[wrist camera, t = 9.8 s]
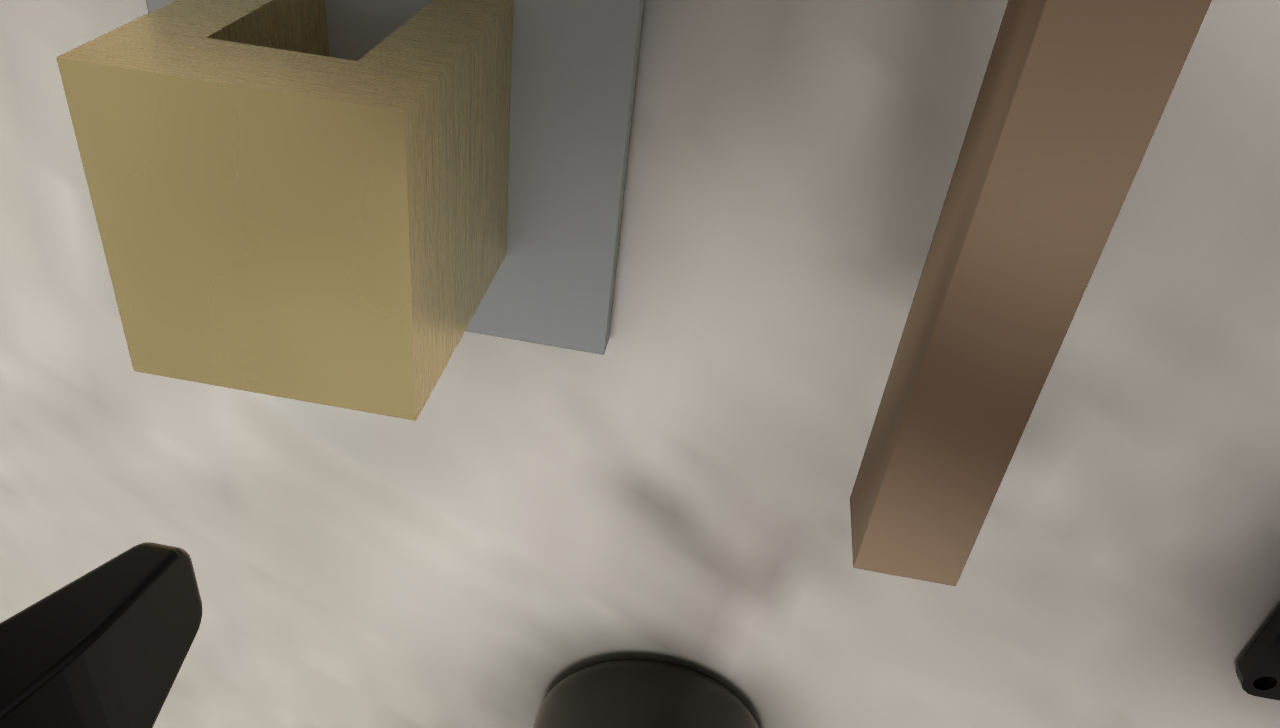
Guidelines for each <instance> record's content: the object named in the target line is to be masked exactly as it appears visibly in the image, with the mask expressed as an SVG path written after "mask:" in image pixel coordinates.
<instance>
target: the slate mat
mask: <svg viewBox="0 0 1280 728" xmlns="http://www.w3.org/2000/svg"><path fill="white" fill-rule="evenodd" d="M173 1H175V0H146V3H147V8H148V13H150V12H152V11H154V10H157V9H159V8H161V7H163V6H165V5H167V4H169V3H171V2H173ZM432 1H433V0H325V2H326V14H327V27H328V39H329V51H330V57H334V58H340V59H346V60H353V61H358V60H359V59H361V58H362V57H363V56H364V55H366V54H367V53H368V52H369V51H371V50H372V49H373V48H374V47H376V46H377V45H378V44H379V43H381V42H382V41H383V40H384V39H386V38H387V37H388V36H389V35H391V34H392V33H393V32H394V31H396V30H397V29H398V28H399V27H401V26H402V25H403V24H404V23H406V22H407V21H408V20H409V19H410V18H412V17H413V16H414V15H415V14H417V13H418V12H419V11H420V10H422V9H423V8H424V7H425V6H427V5H428V4H429V3H430V2H432ZM643 8H644V0H514V8H513V44H512V79H511V115H510V151H509V187H508V223H507V255H506V256H505V258H504V260H503V262H502V264H501V266H500V267H499V269H498V271H497V273H496V275H495V277H494V279H493V280H492V282H491V284H490V286H489V288H488V290H487V291H486V293H485V295H484V297H483V299H482V301H481V302H480V304H479V306H478V308H477V310H476V312H475V313H474V315H473V317H472V319H471V321H470V323H469V324H468V326H467V328H466V330H465V331H468V332H474V333H480V334H485V335H491V336H497V337H503V338H509V339H515V340H520V341H526V342H532V343H538V344H544V345H550V346H555V347H561V348H567V349H573V350H579V351H585V352H590V353H596V354H602V355H604V353H605V349H606V346H607V343H608V340H609V331H610V321H611V312H612V302H613V293H614V283H615V274H616V264H617V255H618V245H619V236H620V226H621V217H622V207H623V198H624V188H625V179H626V169H627V160H628V150H629V141H630V131H631V122H632V112H633V103H634V93H635V84H636V74H637V65H638V55H639V46H640V36H641V27H642V17H643Z"/></svg>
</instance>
